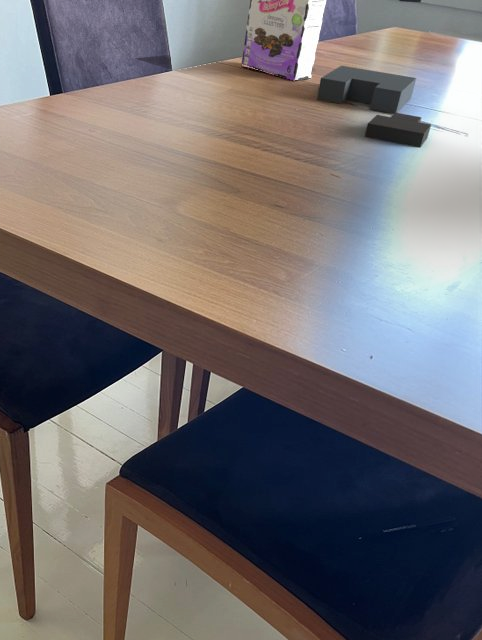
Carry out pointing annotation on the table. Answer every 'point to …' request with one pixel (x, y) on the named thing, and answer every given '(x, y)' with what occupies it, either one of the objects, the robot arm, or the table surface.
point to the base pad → (366, 88)
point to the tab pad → (398, 129)
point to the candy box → (283, 36)
